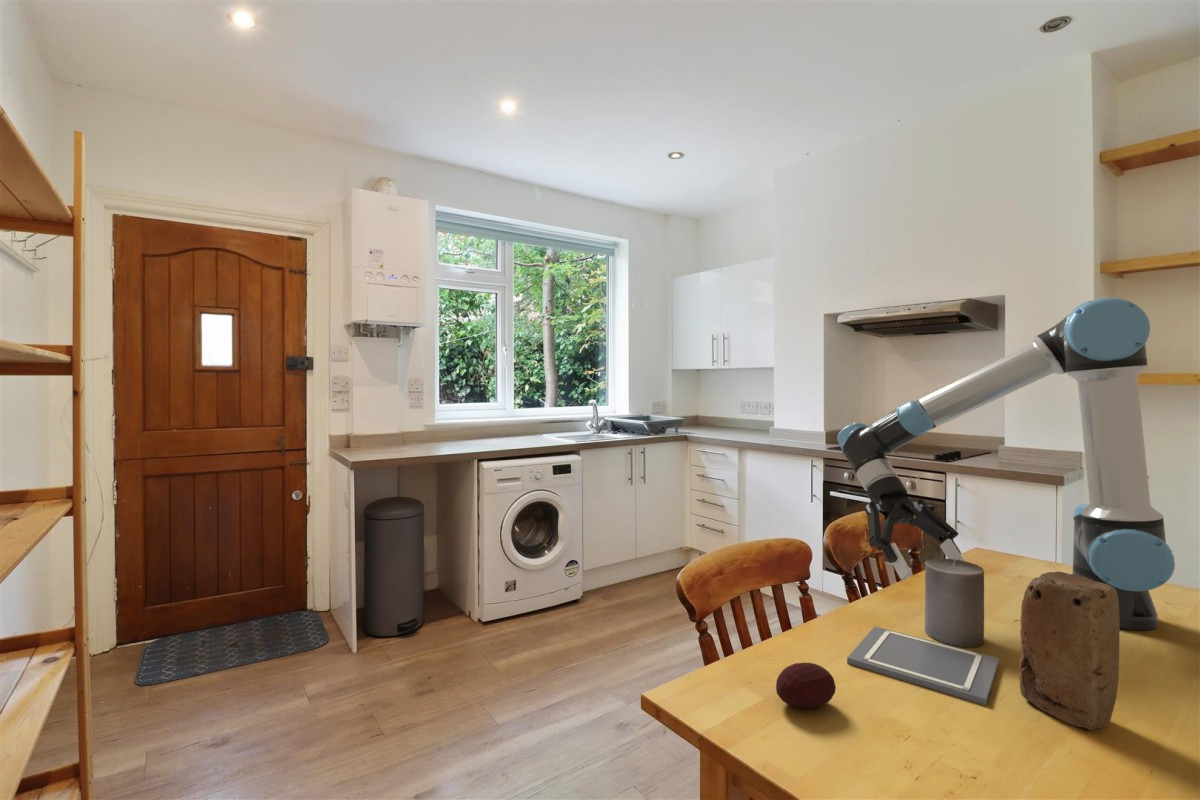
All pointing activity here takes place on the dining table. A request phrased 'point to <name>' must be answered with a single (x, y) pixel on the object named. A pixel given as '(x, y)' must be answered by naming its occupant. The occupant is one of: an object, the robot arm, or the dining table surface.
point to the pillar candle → (954, 602)
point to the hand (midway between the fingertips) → (935, 574)
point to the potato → (805, 685)
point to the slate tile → (927, 664)
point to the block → (1070, 648)
